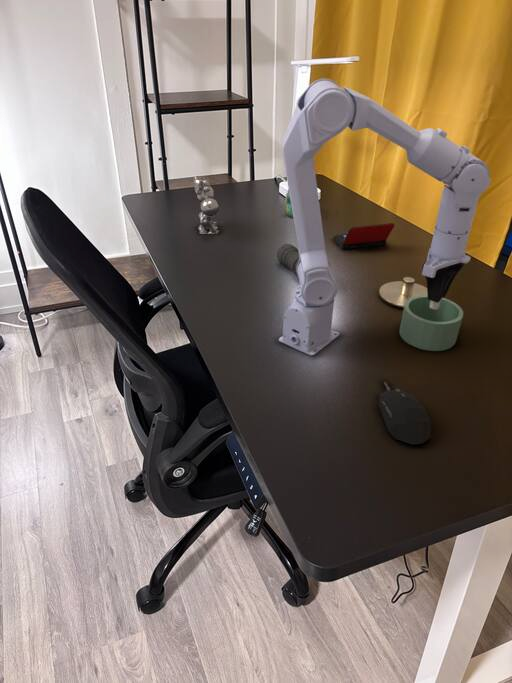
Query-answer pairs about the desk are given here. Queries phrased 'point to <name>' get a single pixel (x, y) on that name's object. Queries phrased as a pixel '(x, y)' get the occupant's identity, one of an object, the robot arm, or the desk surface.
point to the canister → (430, 323)
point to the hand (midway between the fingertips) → (436, 298)
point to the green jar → (288, 205)
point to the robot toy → (206, 205)
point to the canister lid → (401, 291)
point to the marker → (434, 305)
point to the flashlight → (288, 256)
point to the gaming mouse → (404, 416)
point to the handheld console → (364, 236)
